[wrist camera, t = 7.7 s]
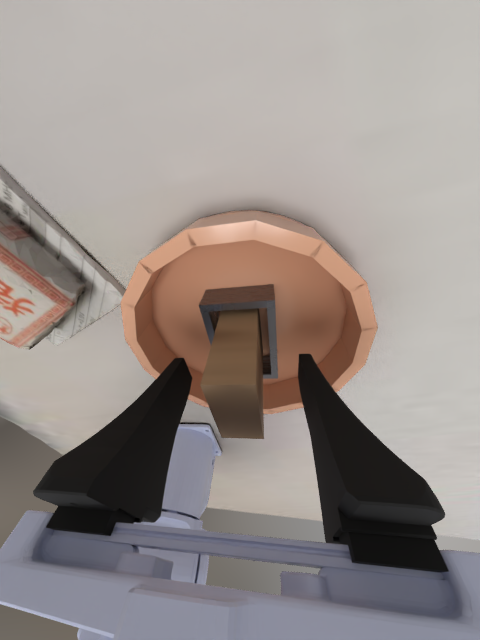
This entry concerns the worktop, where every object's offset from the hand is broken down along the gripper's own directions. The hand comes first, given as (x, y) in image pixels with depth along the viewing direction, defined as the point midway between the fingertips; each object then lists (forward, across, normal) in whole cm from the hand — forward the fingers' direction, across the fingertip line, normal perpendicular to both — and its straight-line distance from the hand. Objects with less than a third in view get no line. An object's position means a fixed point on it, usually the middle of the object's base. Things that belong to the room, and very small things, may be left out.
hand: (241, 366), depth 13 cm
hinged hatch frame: (+4, 0, 0) cm, 4 cm away
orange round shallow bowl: (+5, 0, 0) cm, 5 cm away
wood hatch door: (+4, 0, 0) cm, 4 cm away
